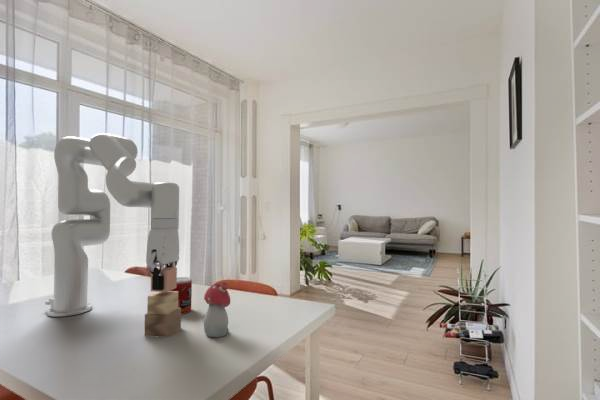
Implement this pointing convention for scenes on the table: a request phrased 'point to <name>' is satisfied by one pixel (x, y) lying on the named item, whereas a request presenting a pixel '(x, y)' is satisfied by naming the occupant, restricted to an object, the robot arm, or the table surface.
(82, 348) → the table surface
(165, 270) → the terracotta block
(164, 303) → the oak block
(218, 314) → the decorative ornament
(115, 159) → the robot arm
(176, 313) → the walnut base
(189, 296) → the canned food
